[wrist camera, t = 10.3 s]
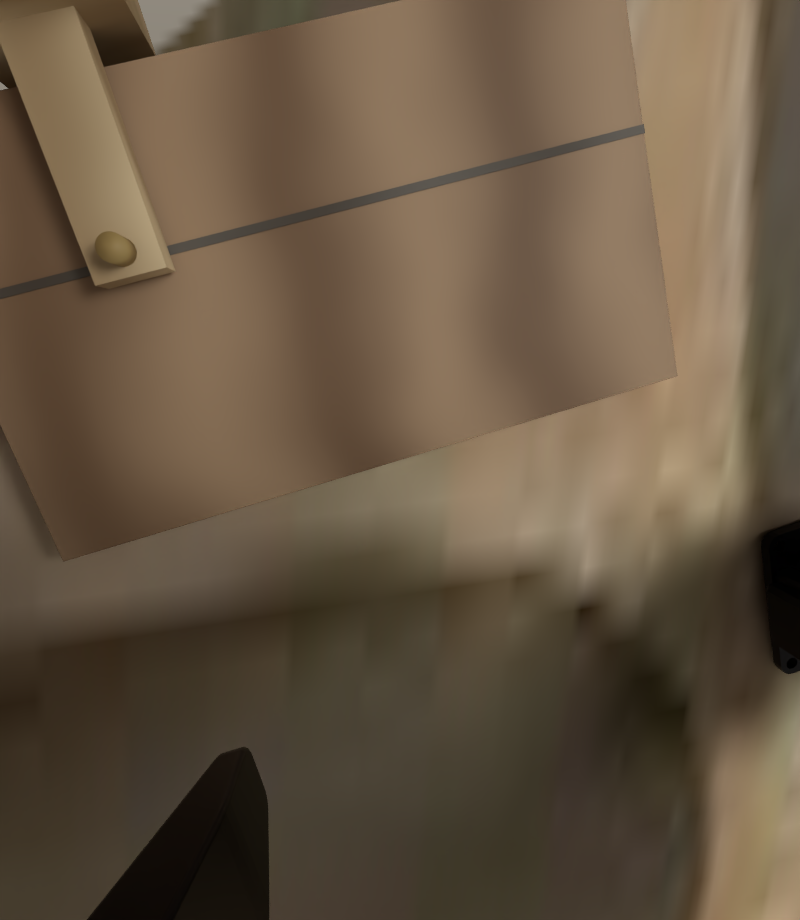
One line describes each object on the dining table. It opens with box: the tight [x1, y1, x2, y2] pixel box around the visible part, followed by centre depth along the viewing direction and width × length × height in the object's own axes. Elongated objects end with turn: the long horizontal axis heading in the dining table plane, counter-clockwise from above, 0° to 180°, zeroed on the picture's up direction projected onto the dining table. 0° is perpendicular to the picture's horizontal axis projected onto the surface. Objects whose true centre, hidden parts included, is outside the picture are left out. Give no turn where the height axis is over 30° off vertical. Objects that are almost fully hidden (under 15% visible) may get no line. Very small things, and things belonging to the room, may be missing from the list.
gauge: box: [0, 0, 176, 289], centre depth 12 cm, size 4×9×8 cm, turn 15°
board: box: [0, 0, 677, 562], centre depth 17 cm, size 20×12×2 cm, turn 105°
